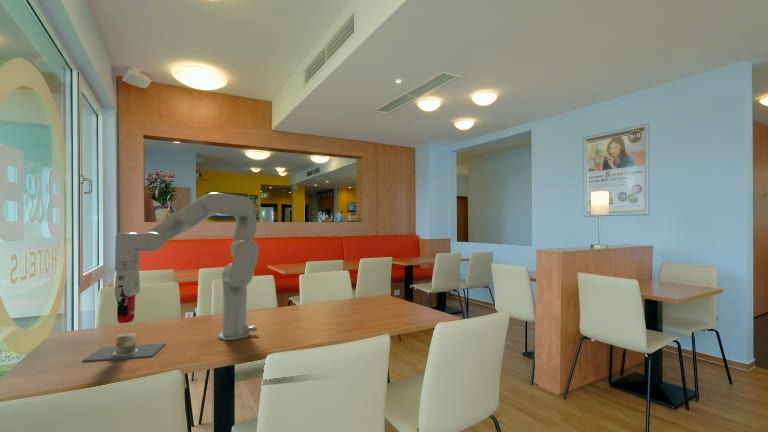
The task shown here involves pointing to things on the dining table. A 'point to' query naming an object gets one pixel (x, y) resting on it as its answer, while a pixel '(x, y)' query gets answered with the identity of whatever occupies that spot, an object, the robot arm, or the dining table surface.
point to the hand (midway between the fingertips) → (126, 313)
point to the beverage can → (130, 311)
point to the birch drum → (125, 343)
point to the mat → (110, 354)
